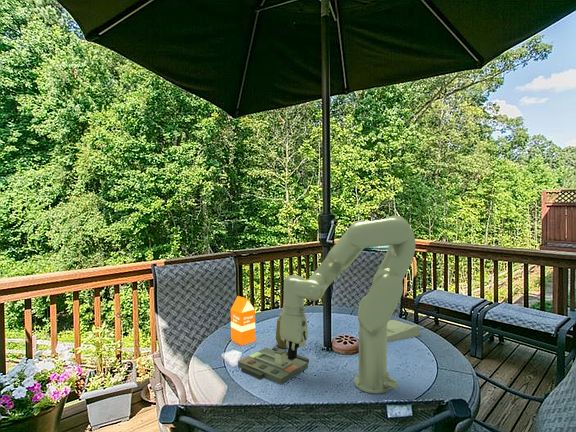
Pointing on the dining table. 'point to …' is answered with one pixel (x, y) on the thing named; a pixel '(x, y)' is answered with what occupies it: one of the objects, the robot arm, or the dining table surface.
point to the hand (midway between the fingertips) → (292, 358)
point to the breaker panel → (273, 365)
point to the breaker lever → (280, 357)
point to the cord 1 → (252, 372)
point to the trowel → (400, 330)
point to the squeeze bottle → (278, 337)
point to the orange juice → (242, 321)
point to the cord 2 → (297, 355)
